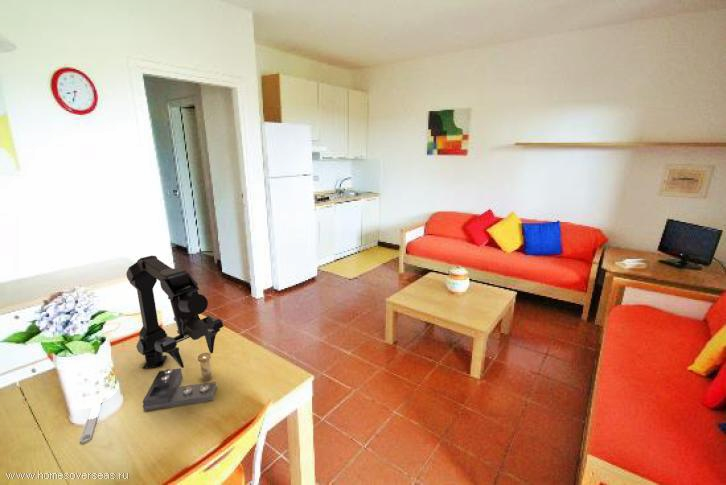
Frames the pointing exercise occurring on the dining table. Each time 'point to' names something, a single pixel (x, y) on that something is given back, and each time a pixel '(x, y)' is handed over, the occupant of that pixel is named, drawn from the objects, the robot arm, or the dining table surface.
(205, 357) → the pin
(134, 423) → the dining table surface
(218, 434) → the dining table surface
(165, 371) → the chain ends
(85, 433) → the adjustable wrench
